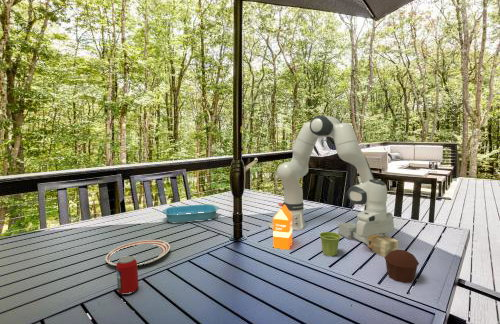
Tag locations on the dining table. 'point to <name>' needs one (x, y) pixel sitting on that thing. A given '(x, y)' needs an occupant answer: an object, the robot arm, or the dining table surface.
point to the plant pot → (330, 243)
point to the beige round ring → (161, 244)
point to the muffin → (401, 266)
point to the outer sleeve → (346, 230)
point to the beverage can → (127, 274)
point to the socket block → (384, 245)
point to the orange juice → (282, 229)
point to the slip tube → (356, 236)
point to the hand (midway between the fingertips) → (375, 242)
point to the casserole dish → (193, 209)
